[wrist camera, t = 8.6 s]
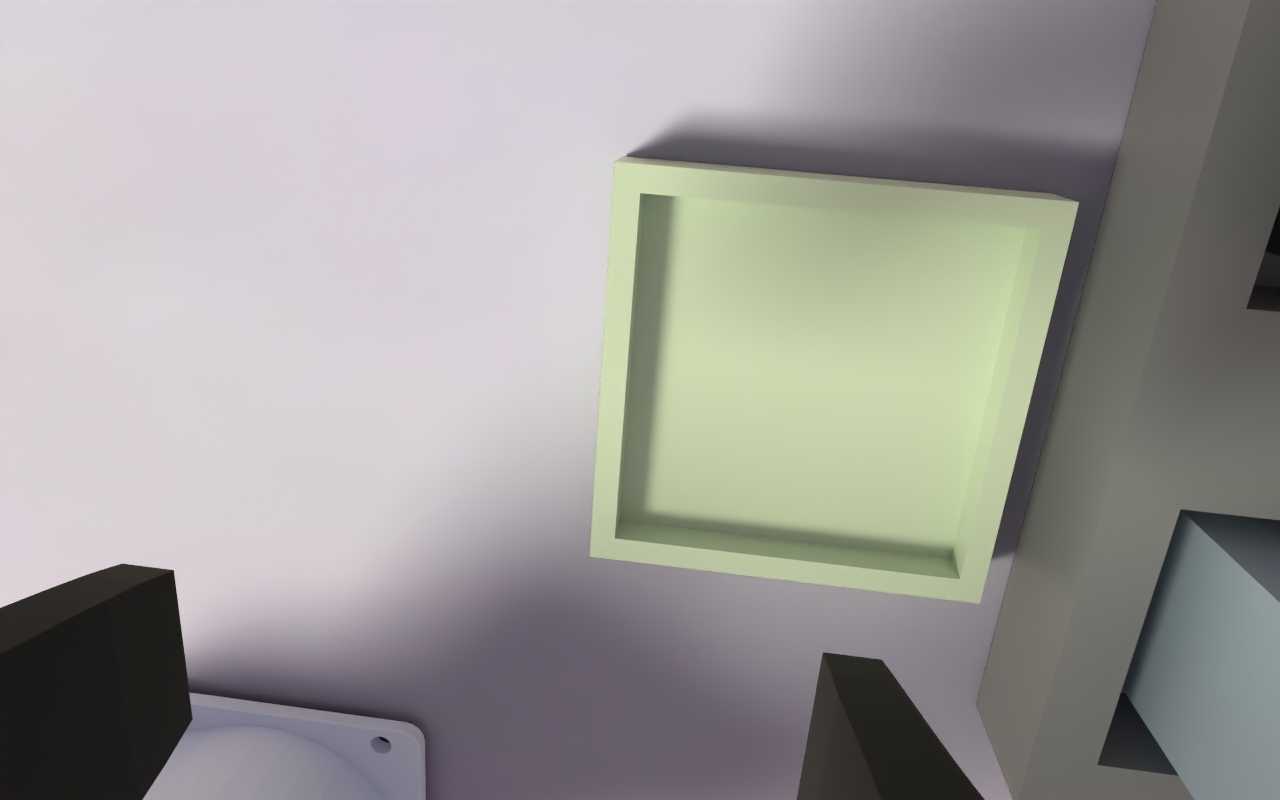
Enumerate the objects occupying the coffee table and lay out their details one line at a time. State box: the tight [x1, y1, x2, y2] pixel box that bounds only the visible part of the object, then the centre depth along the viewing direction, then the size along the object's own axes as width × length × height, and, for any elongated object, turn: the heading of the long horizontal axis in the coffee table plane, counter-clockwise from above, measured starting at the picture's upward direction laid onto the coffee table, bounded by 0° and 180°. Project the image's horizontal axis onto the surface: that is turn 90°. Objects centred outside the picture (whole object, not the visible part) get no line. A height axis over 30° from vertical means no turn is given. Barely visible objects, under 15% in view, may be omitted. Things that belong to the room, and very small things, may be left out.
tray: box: [589, 156, 1079, 604], centre depth 17 cm, size 8×8×1 cm
